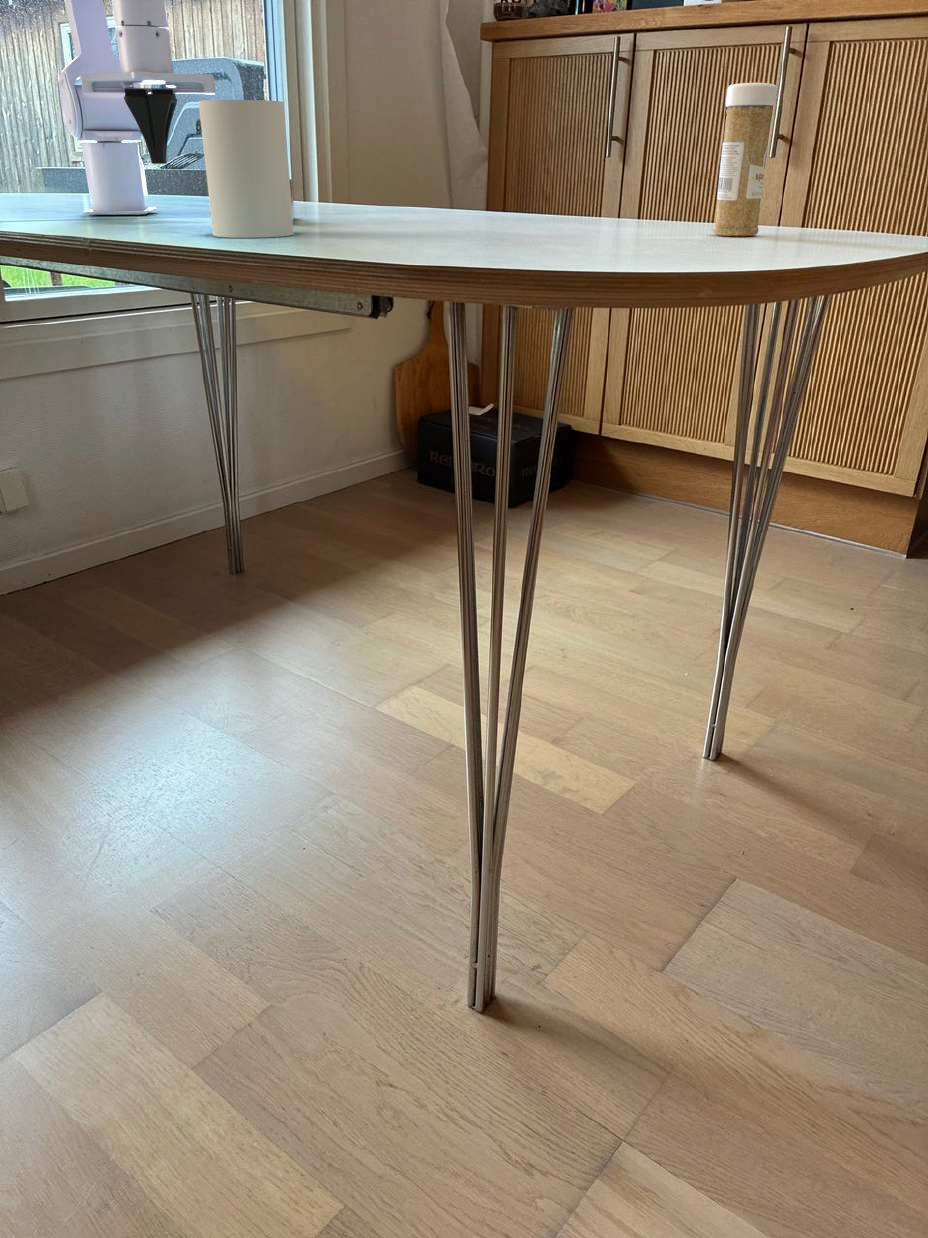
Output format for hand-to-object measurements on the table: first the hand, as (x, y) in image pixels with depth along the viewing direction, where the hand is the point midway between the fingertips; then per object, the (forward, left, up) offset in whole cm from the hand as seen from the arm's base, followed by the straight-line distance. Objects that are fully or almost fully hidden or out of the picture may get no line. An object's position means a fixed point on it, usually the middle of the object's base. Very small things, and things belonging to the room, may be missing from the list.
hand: (159, 163), depth 111 cm
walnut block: (-4, +13, -6) cm, 15 cm away
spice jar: (+27, +61, -7) cm, 67 cm away
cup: (+21, +12, -7) cm, 25 cm away
